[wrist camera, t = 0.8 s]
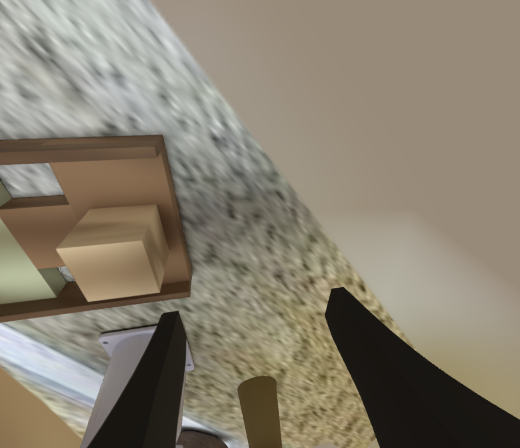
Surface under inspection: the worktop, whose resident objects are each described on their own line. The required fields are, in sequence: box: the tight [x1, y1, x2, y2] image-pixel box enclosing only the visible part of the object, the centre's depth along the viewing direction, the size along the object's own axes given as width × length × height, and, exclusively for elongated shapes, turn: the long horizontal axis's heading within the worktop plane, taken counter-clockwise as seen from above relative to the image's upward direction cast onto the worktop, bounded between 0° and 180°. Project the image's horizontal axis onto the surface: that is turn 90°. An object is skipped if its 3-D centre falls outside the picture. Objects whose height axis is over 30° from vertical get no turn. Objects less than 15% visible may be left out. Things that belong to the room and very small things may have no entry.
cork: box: [238, 376, 282, 448], centre depth 32 cm, size 6×6×11 cm
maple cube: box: [56, 204, 169, 302], centre depth 14 cm, size 4×4×4 cm
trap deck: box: [0, 135, 192, 323], centre depth 15 cm, size 12×15×4 cm
